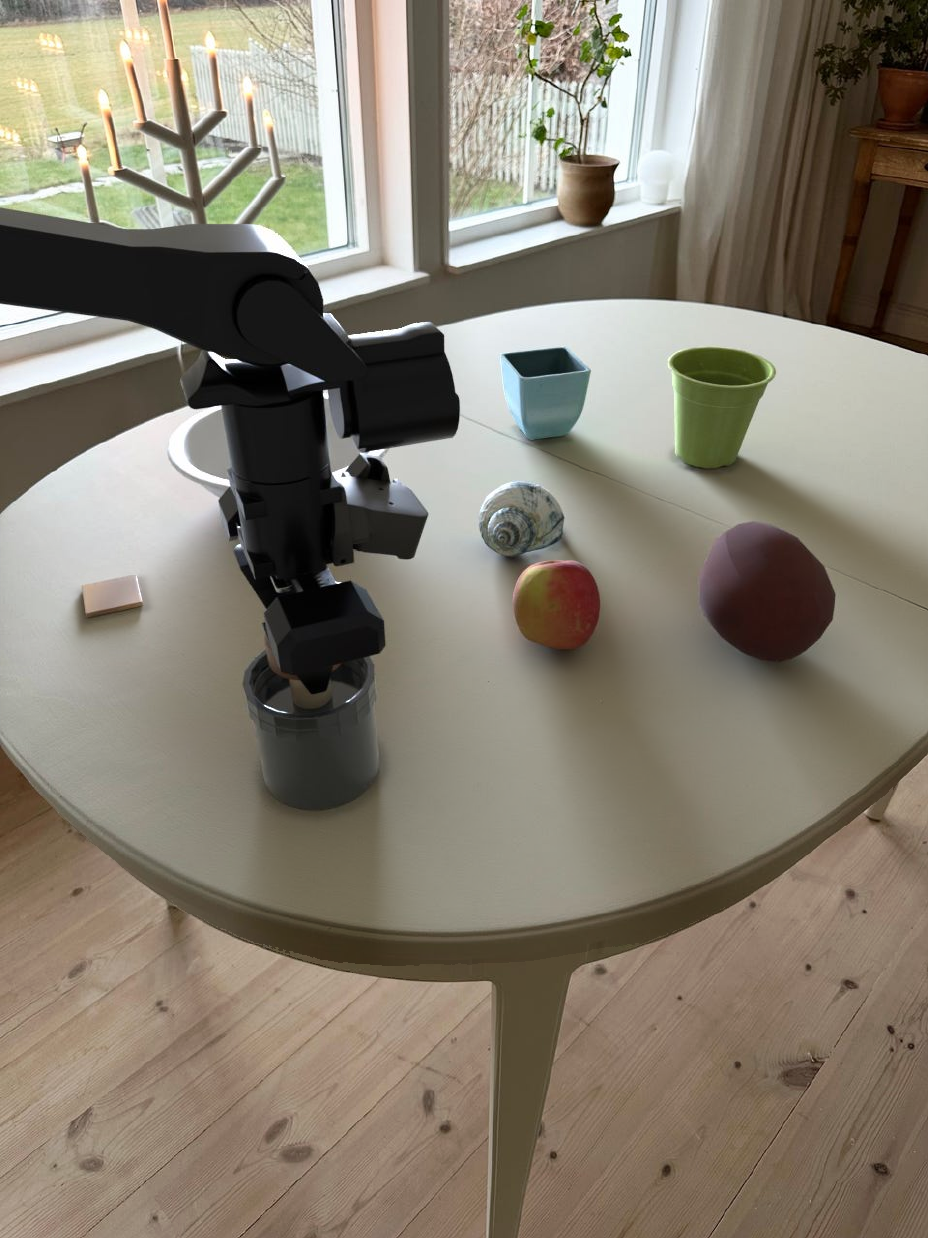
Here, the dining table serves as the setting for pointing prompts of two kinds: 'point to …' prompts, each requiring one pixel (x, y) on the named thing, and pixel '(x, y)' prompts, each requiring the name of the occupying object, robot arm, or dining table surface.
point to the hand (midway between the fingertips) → (308, 667)
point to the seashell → (520, 519)
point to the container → (315, 735)
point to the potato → (765, 592)
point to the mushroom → (299, 685)
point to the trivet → (111, 595)
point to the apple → (557, 604)
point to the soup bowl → (206, 453)
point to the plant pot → (715, 401)
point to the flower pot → (544, 390)
